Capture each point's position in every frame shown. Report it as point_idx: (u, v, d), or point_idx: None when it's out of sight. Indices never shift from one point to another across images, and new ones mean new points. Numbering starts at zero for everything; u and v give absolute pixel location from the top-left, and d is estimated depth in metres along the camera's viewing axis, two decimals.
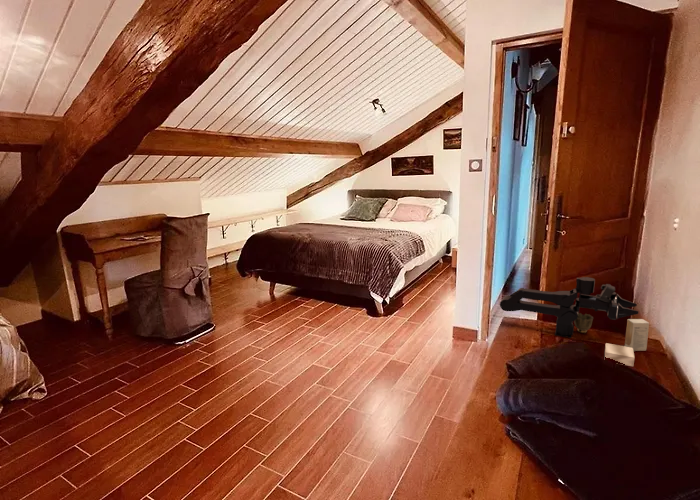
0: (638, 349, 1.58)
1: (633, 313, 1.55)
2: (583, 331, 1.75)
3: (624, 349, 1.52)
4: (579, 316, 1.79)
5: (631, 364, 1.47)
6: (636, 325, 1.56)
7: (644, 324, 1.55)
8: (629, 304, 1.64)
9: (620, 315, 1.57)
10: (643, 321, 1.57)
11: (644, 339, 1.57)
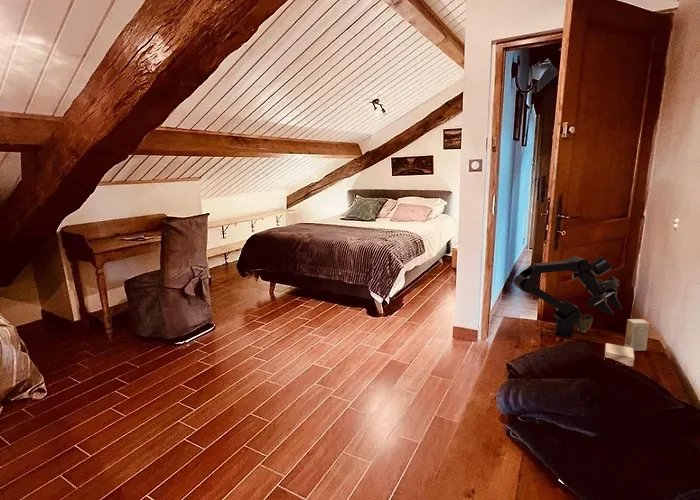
0: (638, 349, 1.58)
1: (608, 313, 1.60)
2: (583, 331, 1.75)
3: (624, 349, 1.52)
4: (579, 316, 1.79)
5: (631, 364, 1.47)
6: (636, 325, 1.56)
7: (644, 324, 1.55)
8: (616, 304, 1.67)
9: (597, 306, 1.62)
10: (643, 321, 1.57)
11: (644, 339, 1.57)
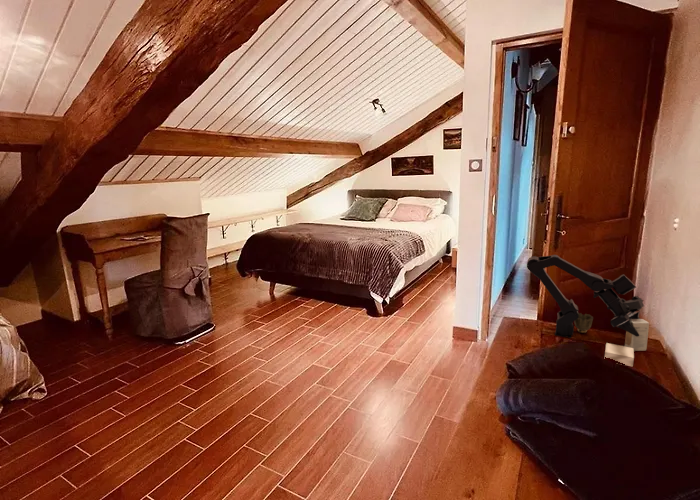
0: (638, 349, 1.58)
1: (633, 333, 1.56)
2: (583, 331, 1.75)
3: (624, 349, 1.52)
4: (579, 316, 1.79)
5: (630, 364, 1.47)
6: (636, 325, 1.56)
7: (644, 324, 1.55)
8: None
9: (622, 326, 1.57)
10: (643, 321, 1.57)
11: (644, 339, 1.57)
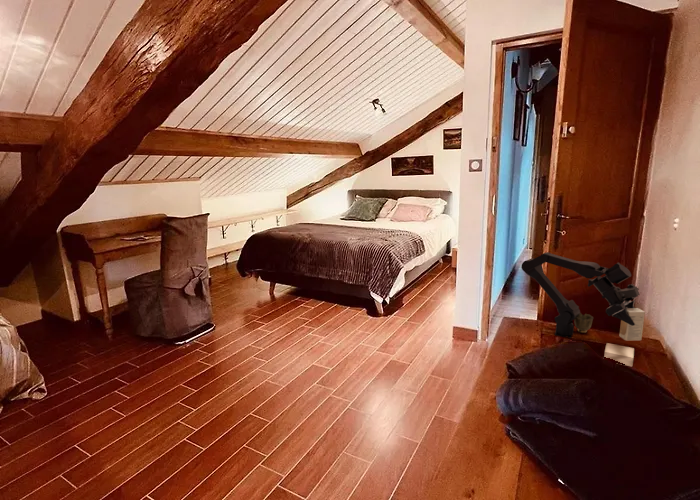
0: (633, 339, 1.54)
1: (629, 322, 1.52)
2: (583, 331, 1.75)
3: (624, 349, 1.52)
4: (579, 316, 1.79)
5: (630, 364, 1.47)
6: (631, 314, 1.52)
7: (640, 313, 1.51)
8: None
9: (617, 315, 1.53)
10: (639, 310, 1.53)
11: (640, 328, 1.53)
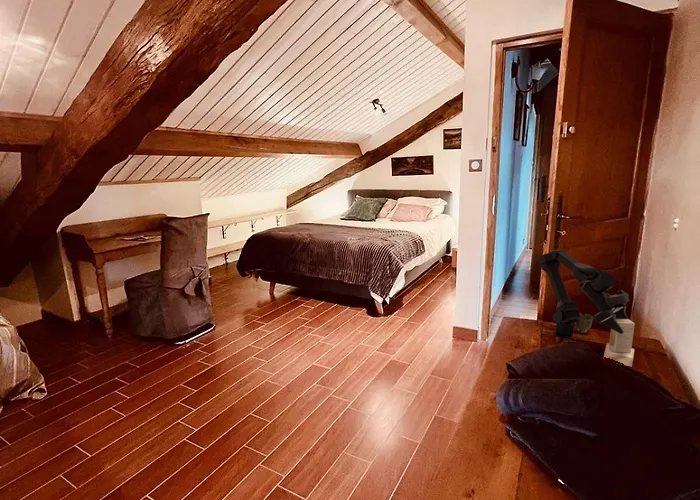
0: (622, 351, 1.50)
1: (617, 330, 1.47)
2: (583, 331, 1.75)
3: None
4: (579, 316, 1.79)
5: (629, 364, 1.47)
6: (620, 325, 1.48)
7: (629, 324, 1.47)
8: None
9: (605, 323, 1.48)
10: (628, 321, 1.48)
11: (629, 340, 1.48)
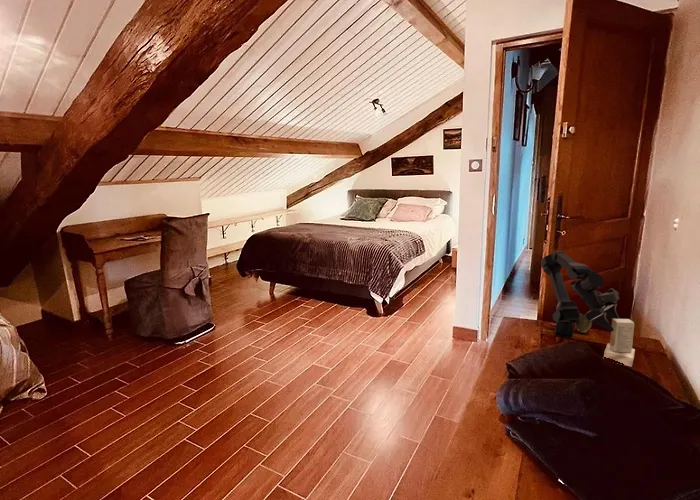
0: (622, 350, 1.50)
1: (608, 328, 1.49)
2: (583, 331, 1.75)
3: None
4: (579, 316, 1.79)
5: (629, 364, 1.47)
6: (619, 325, 1.48)
7: (629, 324, 1.47)
8: (615, 318, 1.55)
9: (596, 321, 1.51)
10: (628, 321, 1.48)
11: (629, 340, 1.48)
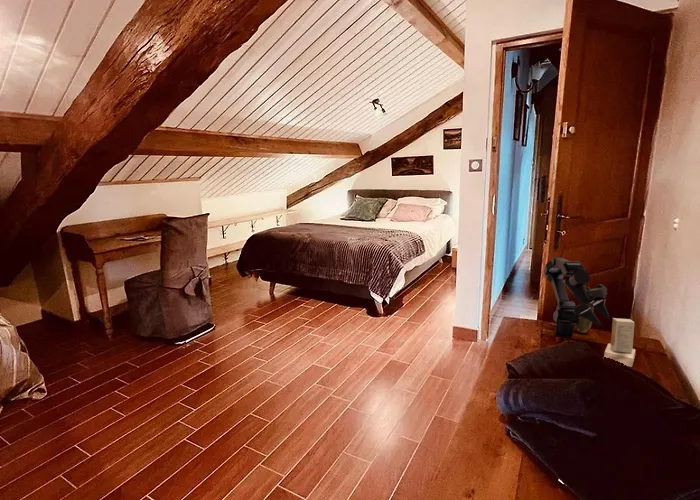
0: (623, 350, 1.49)
1: (595, 322, 1.55)
2: (583, 331, 1.75)
3: None
4: (579, 316, 1.79)
5: (630, 365, 1.46)
6: (619, 324, 1.49)
7: (629, 323, 1.48)
8: (604, 313, 1.61)
9: (584, 315, 1.57)
10: (629, 320, 1.49)
11: (629, 340, 1.48)
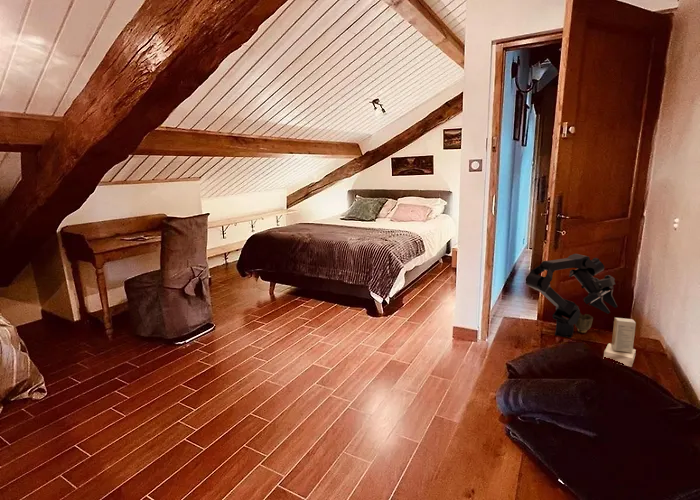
0: (623, 350, 1.50)
1: (604, 310, 1.63)
2: (583, 331, 1.75)
3: None
4: (579, 316, 1.79)
5: (629, 365, 1.46)
6: (620, 324, 1.49)
7: (630, 323, 1.48)
8: (612, 302, 1.69)
9: (594, 304, 1.65)
10: (630, 320, 1.49)
11: (630, 340, 1.48)
